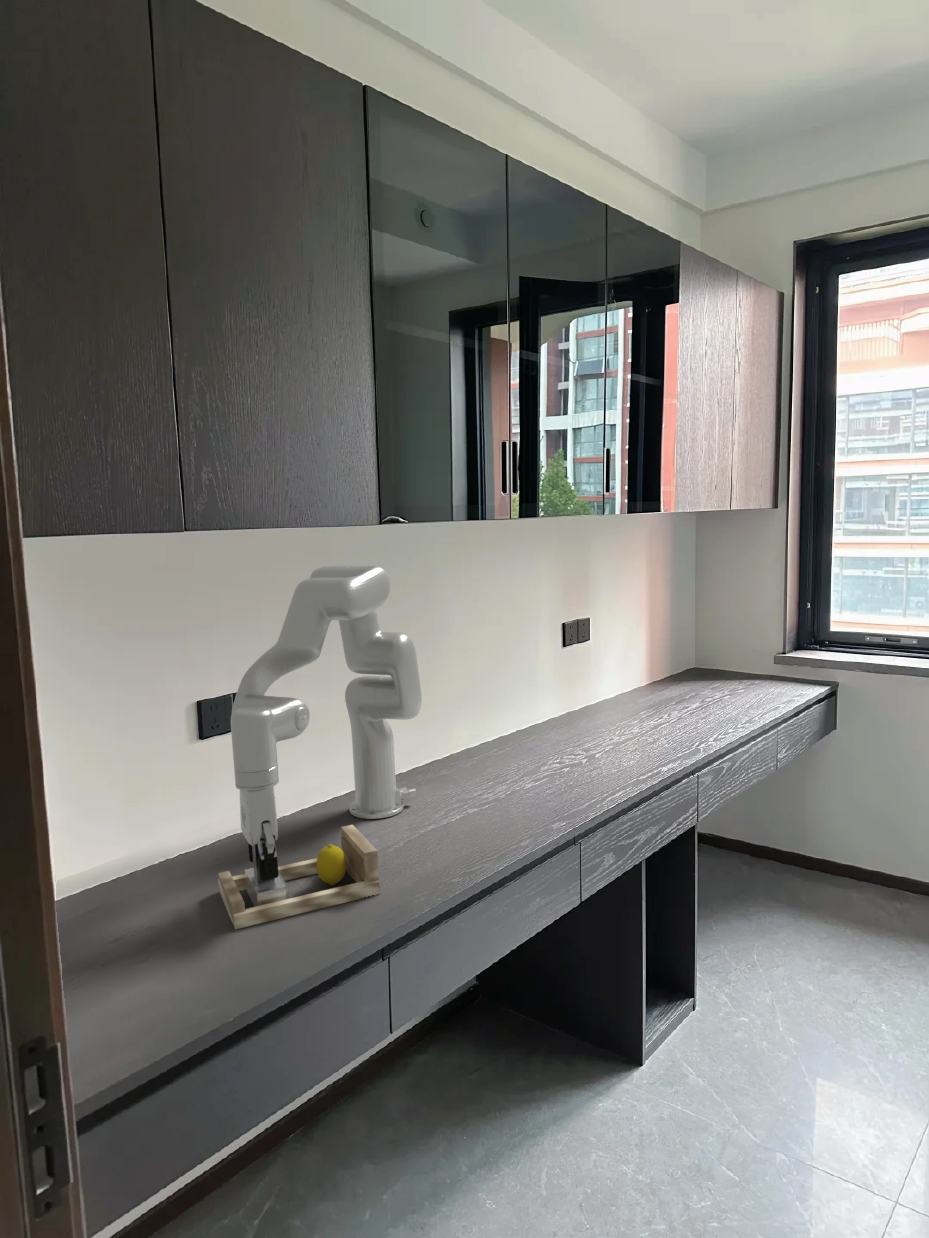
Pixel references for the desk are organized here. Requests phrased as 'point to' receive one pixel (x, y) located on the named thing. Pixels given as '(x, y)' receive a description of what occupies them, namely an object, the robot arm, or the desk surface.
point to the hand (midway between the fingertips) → (263, 868)
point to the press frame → (358, 867)
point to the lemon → (331, 864)
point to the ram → (264, 884)
